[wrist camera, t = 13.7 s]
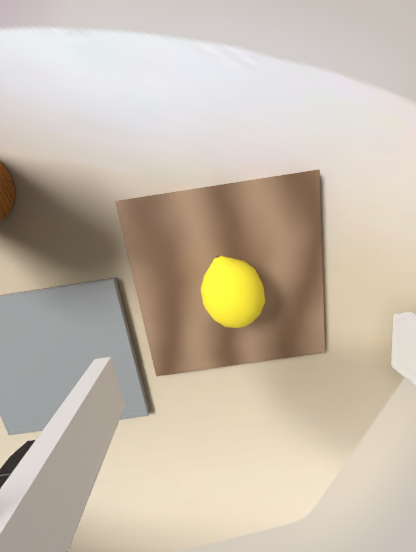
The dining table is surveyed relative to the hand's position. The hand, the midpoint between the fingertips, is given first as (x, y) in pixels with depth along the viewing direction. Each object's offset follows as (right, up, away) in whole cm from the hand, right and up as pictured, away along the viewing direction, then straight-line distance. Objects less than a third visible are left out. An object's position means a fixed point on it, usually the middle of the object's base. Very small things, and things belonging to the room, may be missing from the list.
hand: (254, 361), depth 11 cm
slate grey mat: (-18, -5, +15) cm, 24 cm away
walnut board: (0, +3, +13) cm, 14 cm away
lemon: (0, +3, +12) cm, 13 cm away
